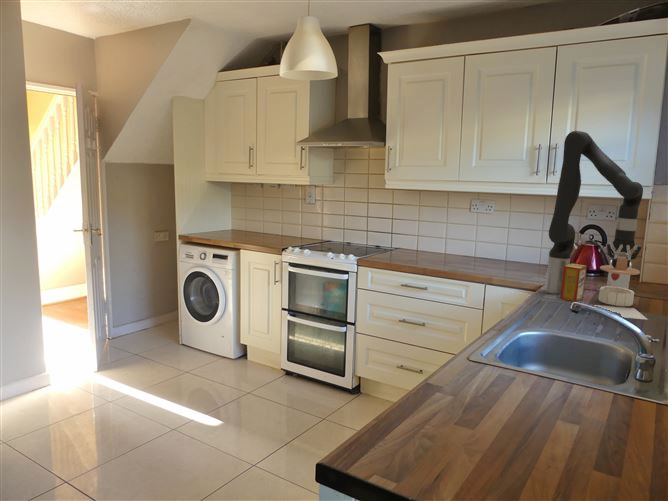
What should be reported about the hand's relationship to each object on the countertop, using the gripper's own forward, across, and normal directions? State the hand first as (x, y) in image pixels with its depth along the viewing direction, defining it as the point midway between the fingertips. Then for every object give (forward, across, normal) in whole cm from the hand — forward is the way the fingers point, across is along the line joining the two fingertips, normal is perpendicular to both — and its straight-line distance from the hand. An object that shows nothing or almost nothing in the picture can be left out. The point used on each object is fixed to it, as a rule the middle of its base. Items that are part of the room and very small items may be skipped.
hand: (620, 267), depth 217 cm
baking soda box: (+17, -17, +3) cm, 24 cm away
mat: (+17, -2, -14) cm, 22 cm away
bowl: (+17, +1, +3) cm, 17 cm away
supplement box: (+17, +8, +26) cm, 32 cm away
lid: (+1, 0, 0) cm, 1 cm away
